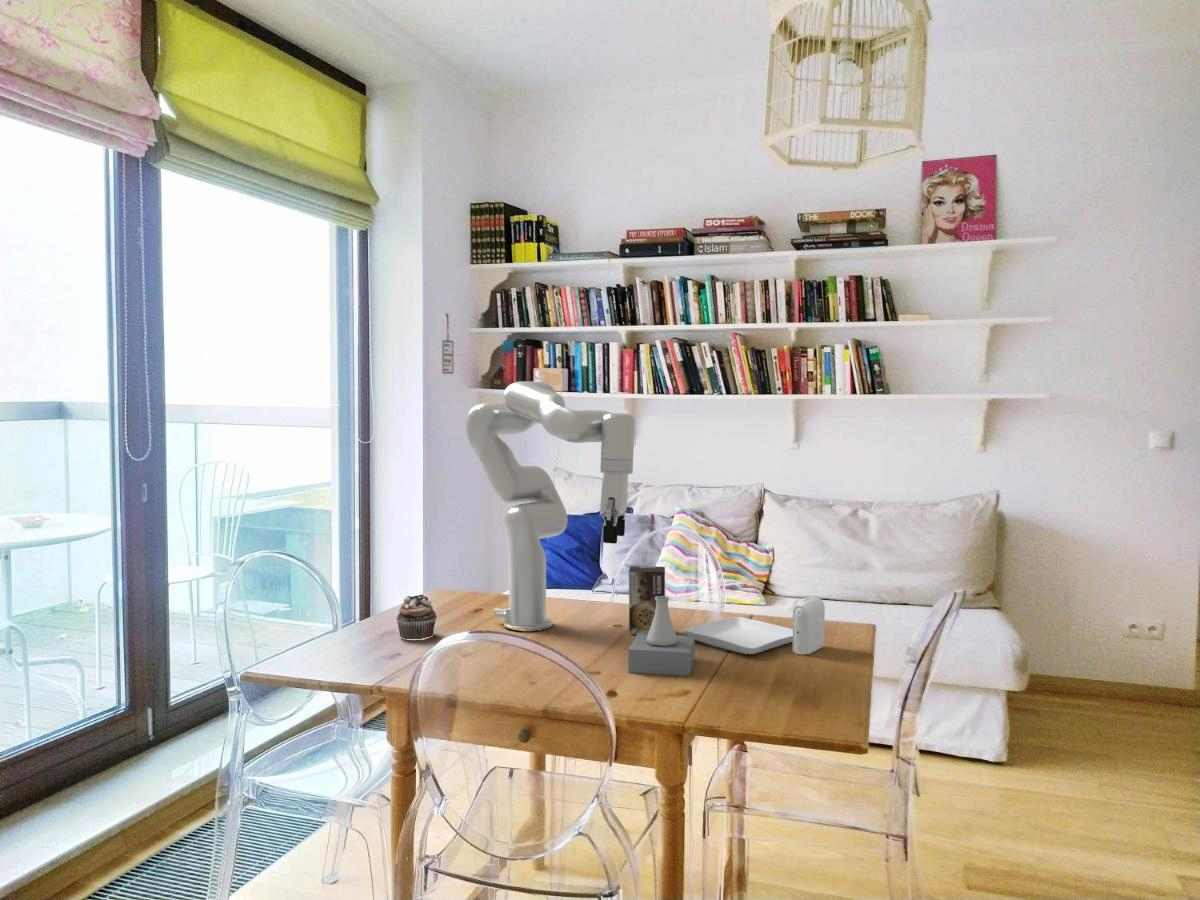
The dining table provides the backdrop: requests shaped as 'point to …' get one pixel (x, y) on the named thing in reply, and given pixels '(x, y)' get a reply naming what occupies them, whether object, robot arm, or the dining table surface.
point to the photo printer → (808, 625)
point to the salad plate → (741, 635)
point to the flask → (662, 625)
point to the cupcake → (416, 618)
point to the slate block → (662, 656)
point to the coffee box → (644, 596)
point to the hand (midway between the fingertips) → (613, 539)
